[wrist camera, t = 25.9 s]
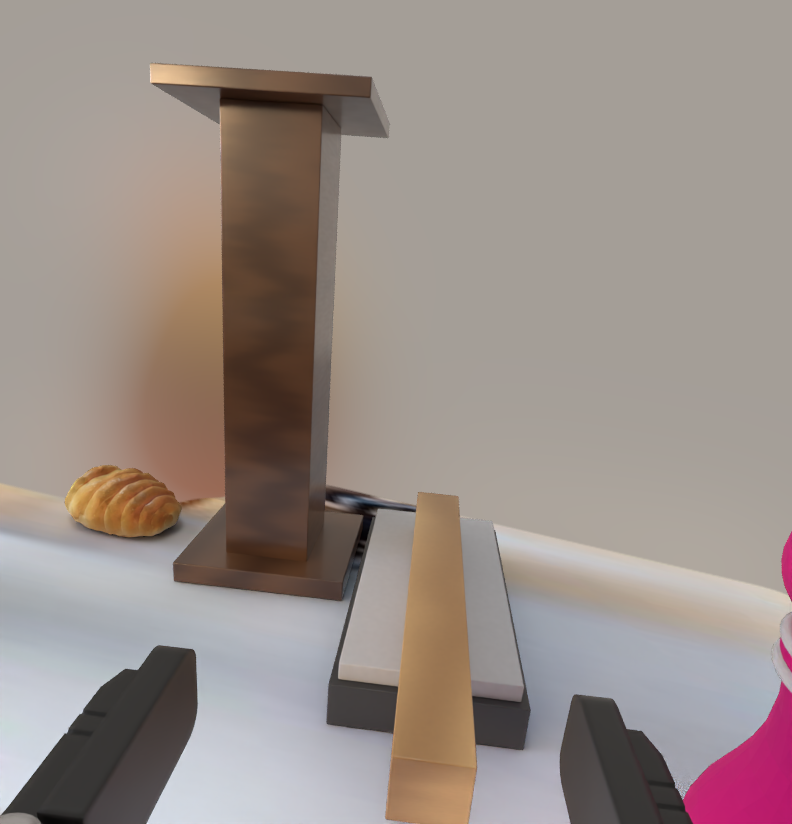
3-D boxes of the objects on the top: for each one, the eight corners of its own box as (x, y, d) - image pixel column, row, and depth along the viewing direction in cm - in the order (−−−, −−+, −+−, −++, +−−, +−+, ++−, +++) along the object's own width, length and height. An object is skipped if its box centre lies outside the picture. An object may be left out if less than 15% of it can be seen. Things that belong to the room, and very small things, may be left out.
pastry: (202, 517, 46) (201, 477, 45) (137, 554, 40) (133, 508, 39) (125, 491, 50) (122, 453, 49) (55, 521, 44) (49, 479, 43)
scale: (326, 724, 27) (329, 668, 26) (370, 543, 45) (373, 505, 44) (523, 750, 27) (534, 694, 26) (491, 557, 44) (496, 518, 43)
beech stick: (385, 820, 19) (391, 756, 19) (414, 527, 41) (418, 491, 40) (467, 832, 19) (477, 768, 18) (454, 532, 40) (458, 495, 39)
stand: (173, 581, 38) (149, 62, 29) (227, 515, 47) (222, 111, 38) (341, 601, 37) (372, 76, 28) (362, 530, 46) (389, 122, 37)
